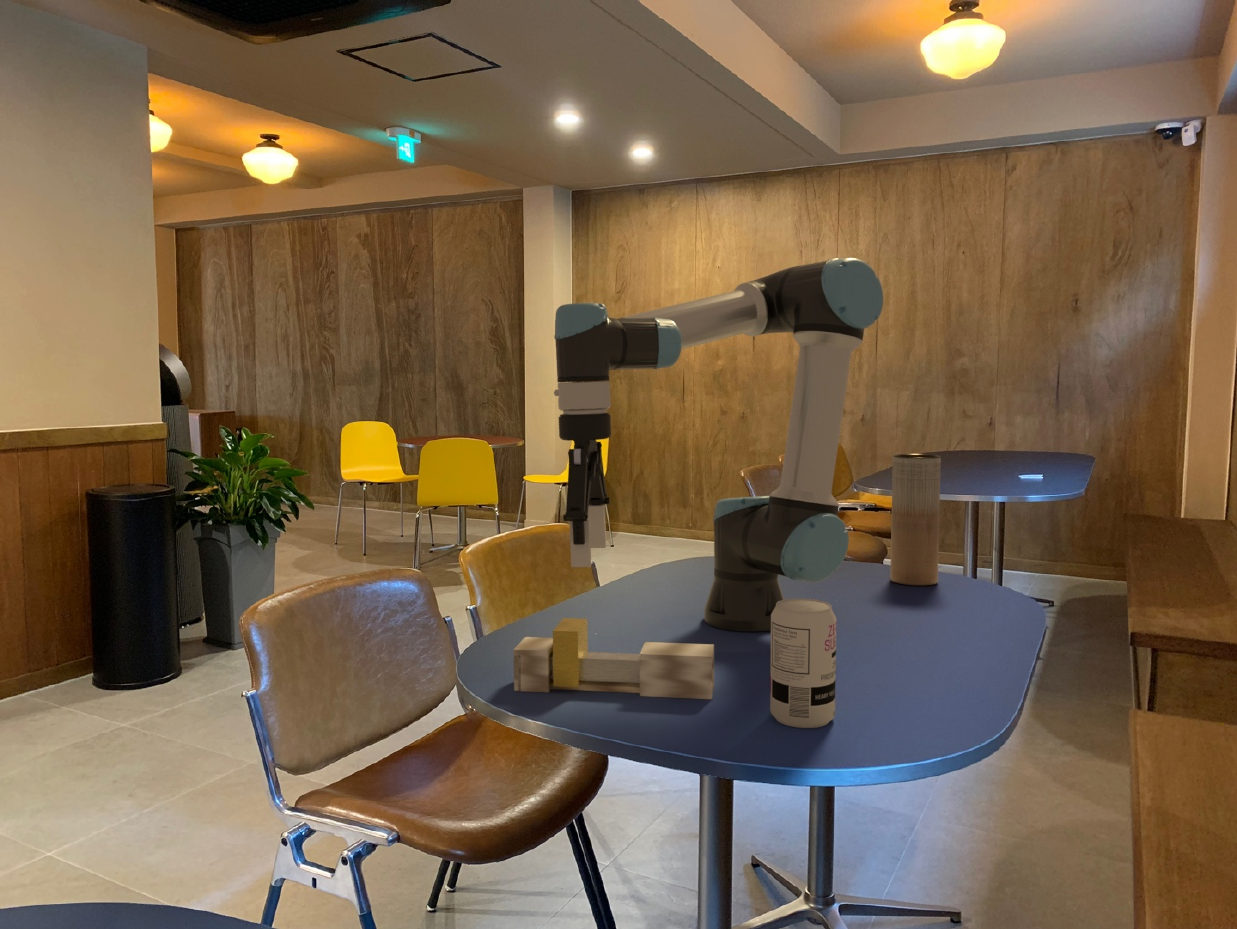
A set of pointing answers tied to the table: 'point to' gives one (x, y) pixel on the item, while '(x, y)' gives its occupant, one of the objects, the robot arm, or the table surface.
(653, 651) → the sleeve and socket
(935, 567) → the vase
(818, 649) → the supplement can
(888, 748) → the table surface
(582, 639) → the golden wooden block
